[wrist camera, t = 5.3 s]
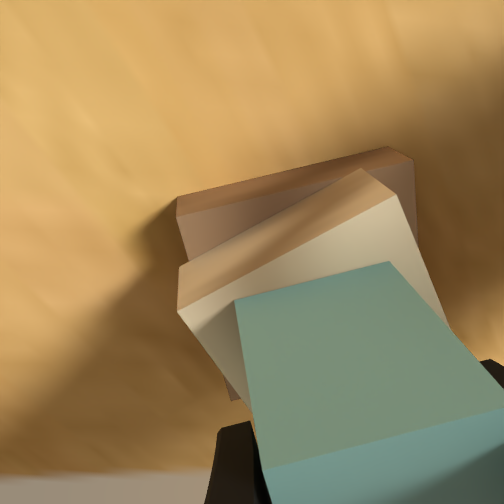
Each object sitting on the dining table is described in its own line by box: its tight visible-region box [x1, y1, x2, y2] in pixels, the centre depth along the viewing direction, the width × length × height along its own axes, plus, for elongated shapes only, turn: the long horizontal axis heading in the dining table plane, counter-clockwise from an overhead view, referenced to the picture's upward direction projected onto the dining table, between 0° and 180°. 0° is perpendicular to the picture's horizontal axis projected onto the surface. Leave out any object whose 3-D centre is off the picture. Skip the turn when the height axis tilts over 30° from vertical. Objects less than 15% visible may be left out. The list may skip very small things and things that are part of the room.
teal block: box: [234, 261, 504, 504], centre depth 10 cm, size 4×4×5 cm
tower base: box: [176, 147, 419, 401], centre depth 16 cm, size 7×7×2 cm
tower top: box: [177, 168, 451, 414], centre depth 13 cm, size 6×6×2 cm
